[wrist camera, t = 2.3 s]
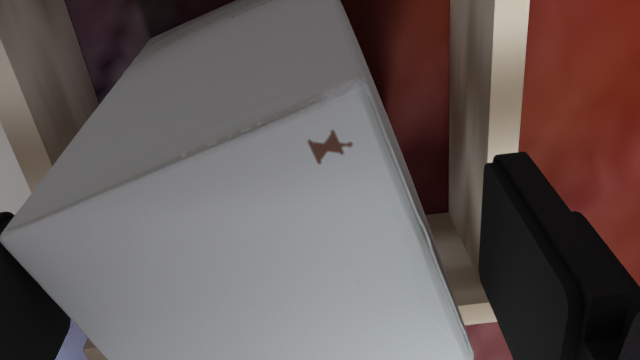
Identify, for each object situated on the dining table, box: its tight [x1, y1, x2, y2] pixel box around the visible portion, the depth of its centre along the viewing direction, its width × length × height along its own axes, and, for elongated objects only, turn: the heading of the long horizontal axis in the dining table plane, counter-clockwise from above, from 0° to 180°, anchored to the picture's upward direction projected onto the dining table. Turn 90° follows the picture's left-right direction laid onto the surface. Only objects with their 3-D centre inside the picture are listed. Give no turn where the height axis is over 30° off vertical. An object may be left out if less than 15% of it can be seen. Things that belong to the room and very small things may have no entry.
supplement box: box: [0, 0, 474, 360], centre depth 16 cm, size 7×7×13 cm
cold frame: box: [0, 0, 530, 360], centre depth 19 cm, size 16×16×6 cm
